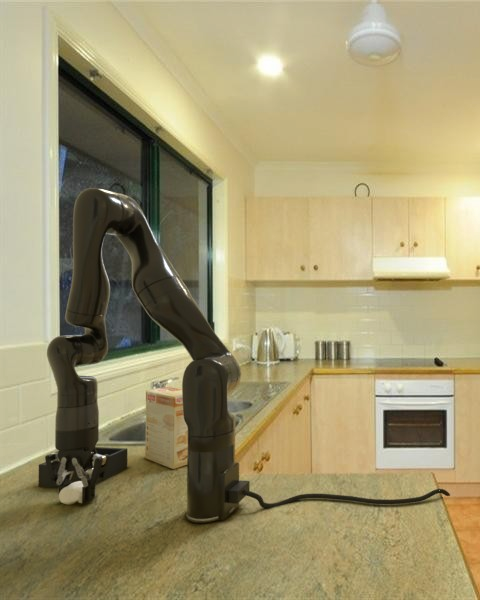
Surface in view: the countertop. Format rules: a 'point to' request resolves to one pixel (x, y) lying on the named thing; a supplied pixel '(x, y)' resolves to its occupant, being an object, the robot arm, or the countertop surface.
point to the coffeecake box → (166, 427)
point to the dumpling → (71, 493)
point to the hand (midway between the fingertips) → (76, 500)
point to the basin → (114, 466)
